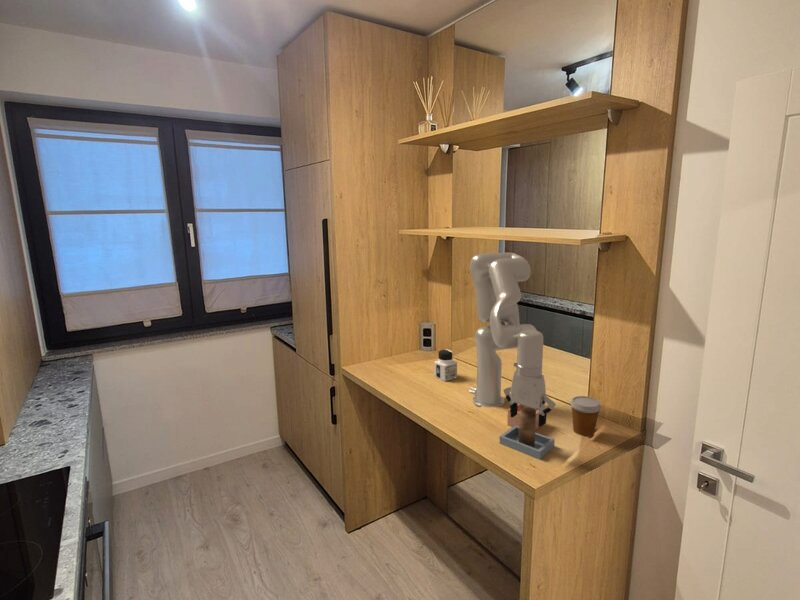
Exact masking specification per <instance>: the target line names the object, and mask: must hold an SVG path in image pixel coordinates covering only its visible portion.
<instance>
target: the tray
mask: <svg viewBox="0 0 800 600" xmlns="http://www.w3.org/2000/svg"><path fill="white" fill-rule="evenodd" d="M555 440H556V439H554V438H552V437H549V436H546V435H543V434H541V433H538V432H535V446H534V448H533V447H531V446H528V445H525V444H523V443H520V442H519V426H516V425H515V426H514V427H511V428H509V429H508V430H507V431H505V432H504V433H502V434H501V435H500V436H499V444H500V445H503V446H505V447H507V448H510V449H512V450H515V451H517V452H520V453H521V454H524V455H527V456H530V457H531V458H535V459H537V460H541V459H542V458H543V457H544V456H546V454H548V453H549V452H550V451H552V449H553V448H555Z"/></svg>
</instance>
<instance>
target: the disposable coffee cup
mask: <svg viewBox="0 0 800 600" xmlns="http://www.w3.org/2000/svg"><path fill="white" fill-rule="evenodd" d="M570 405H571V406H570V407H571V415H572V428H573V432H574V433H575V434H577V435H579V436H582V437H588V439H591V438H594V434H595V432H596V431H595V430H596V427H597V421H598V417H599V413H600V410H601V408H602V407H601V403H600V401H599V400H598V399H596V398H594V397H591V396H587V395H586V396H585V395H577V396H574V397H573V398H571V400H570Z"/></svg>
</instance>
